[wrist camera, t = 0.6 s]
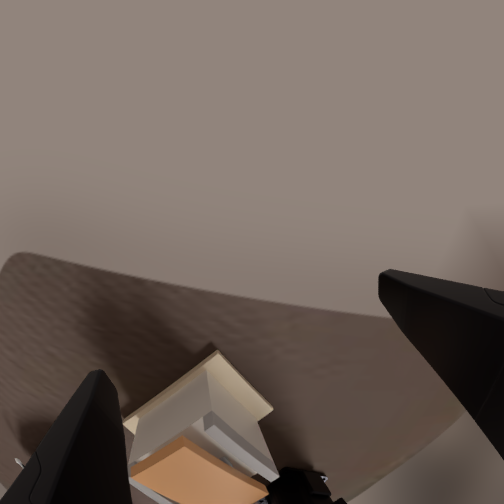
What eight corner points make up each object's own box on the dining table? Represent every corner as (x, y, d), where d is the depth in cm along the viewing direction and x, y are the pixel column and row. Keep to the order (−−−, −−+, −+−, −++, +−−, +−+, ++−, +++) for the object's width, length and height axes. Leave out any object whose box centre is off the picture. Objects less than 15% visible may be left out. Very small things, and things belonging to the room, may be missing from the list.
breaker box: (271, 404, 28) (303, 465, 18) (180, 465, 26) (182, 532, 17) (217, 349, 27) (231, 403, 17) (124, 418, 25) (104, 483, 16)
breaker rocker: (261, 478, 20) (269, 494, 18) (215, 504, 19) (220, 520, 17) (180, 426, 17) (184, 446, 15) (130, 459, 16) (130, 477, 14)
